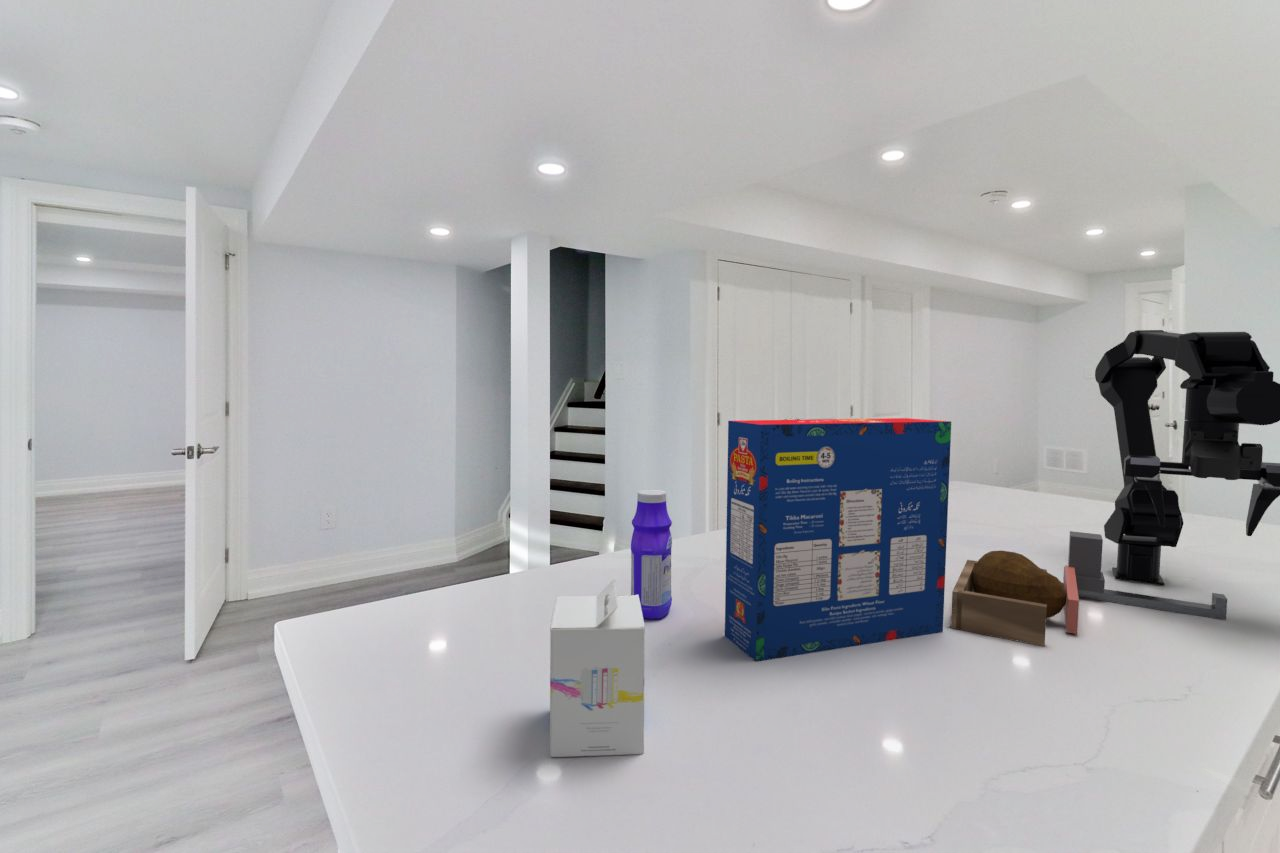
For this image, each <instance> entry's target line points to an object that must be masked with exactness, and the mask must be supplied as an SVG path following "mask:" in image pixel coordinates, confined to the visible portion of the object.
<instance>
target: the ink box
mask: <svg viewBox="0 0 1280 853" xmlns="http://www.w3.org/2000/svg"><path fill="white" fill-rule="evenodd" d="M616 581H617V580H616V579H613V580H612V581H610V582H609V583H608V584H607V585H606V586H605V587H604V588H603V589H602V590H601V591H600V592H599V593H598V594H597V595H581V596H580V595H579V596H578V595H577V596H576V595H574V596H573V595H571V596H568V595H567V596H562V595H561V596H560V595H558V596H556V597H555V600H554V607H553V612H552V616H551V621H550V627H549V631H550V637H549V639H550V641H549V642H550V651H549V653H550V654H549V655H550V656H549V657H550V658H549V659H550V662H549V663H550V664H549V668H550V669H549V670H550V671H549V684H550V685H549V687H550V689H549V690H550V691H549V756H550V758H565V757H567V758H568V757H598V756H599V757H600V756H625V755H642V754H644V752H645V736H644V735H645V650H646V648H645V642H646V640H645V637H646V636H645V634H646V633H645V632H646V626H645V620H644V619H645V618H643V614H642V609H641V604H640V599H639V595H631V594H630V595H617V588H616V586H617V585H616V584H617V582H616Z"/></svg>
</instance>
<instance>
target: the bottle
mask: <svg viewBox="0 0 1280 853" xmlns="http://www.w3.org/2000/svg"><path fill="white" fill-rule="evenodd" d="M636 497H637V499H636V501H637V504H636V509H635V510H636V511H635V514H634V516H633V518H632V520H631V525H632V527H633V532H632V536H631V540H630V550H631V555H630V558H631V559H630V560H631V561H630V562H631V563H630V564H631V565H630V566H631V567H630V568H631V569H630V572H631V574H630V595H639V599H640V604H641V609H642V614H643V619H648V620H649V619H650V620H657V619H662V618H664V617H665V616H666V615H668V613H669V612H670V610H671V606H672V601H673V597H672V547H673V546H672V545H673V539H672V534H671V533H672V532H671V530H670V528H671V527H672V524H673V521H672V519H671V518H670V516H669V513H668V507H667V491H665V490H661V489H651V488H650V489H642V490H638V491H637V496H636Z"/></svg>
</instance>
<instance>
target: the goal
mask: <svg viewBox="0 0 1280 853" xmlns="http://www.w3.org/2000/svg"><path fill="white" fill-rule="evenodd" d="M977 562H978V560H973V559H972V560H971V559H967V560H966V562H965V564H964V565H963V566H964V567H963V568H962V570H961V573H960V574H959V576H958V578H957V581H956V583H955V585H954V587H953V589H952V592H951V593H952V594H951V598H952V599H951V612H950V613H951V614H950V616H951V617H950V629H955V630H960V631H966V632H970V633H975V634H980V635H985V636H990V635H991V637H995V636H996V637H995V638H1000V637H1001V639H1005V638H1006V640H1010V639H1012V640H1011V641H1015V640H1018V641H1017V642H1020V641H1022V642H1021V643H1025V642H1027V643H1026V644H1030V643H1032V645H1035V644H1037V645H1036V646H1040V645H1042V646H1041V647H1045V646H1046V644H1045V643H1046V630H1047V618H1046V611H1047V604H1041V603H1035V602H1029V601H1023V600H1017V599H1011V598H1005V597H999V596H993V595H987V594H981V593H975V591H974V588H973V583H972V574H973V569H974V567H975V565H976V564H977ZM1045 572H1047V573H1048V570H1047V571H1045Z"/></svg>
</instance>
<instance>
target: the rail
mask: <svg viewBox="0 0 1280 853" xmlns="http://www.w3.org/2000/svg"><path fill="white" fill-rule="evenodd" d="M1041 569H1042V570H1044V571H1047V572H1048V570H1047V569H1044V568H1041ZM1061 583H1062V584H1063V587H1064V582H1061ZM1077 590H1078V589H1077ZM1078 597H1079V598H1082V599H1083V598H1085V599H1090V600H1095V599H1096V600H1095V601H1102V600H1103V602H1108V601H1109V602H1108V603H1114V602H1117V603H1116V604H1121V603H1123V605H1127V604H1129V606H1133V605H1136V607H1140V606H1142V607H1141V608H1146V609H1154V610H1158V611H1159V610H1160V611H1167V612H1171V613H1172V612H1173V613H1179V614H1185V615H1190V616H1191V615H1193V616H1198V617H1203V618H1211V619H1218V620H1224V621H1226V620H1227V611H1228V610H1227V609H1228V598H1227V597H1226V595H1225V594H1223V593H1216V592H1212V593H1211V603H1210V604H1207V603H1200V602H1193V601H1187V600H1180V599H1173V598H1167V597H1160V596H1153V595H1146V594H1141V593H1133V592H1127V591H1119V590H1113V589H1106V588H1104V593H1098V592H1091V591H1085V590H1078Z"/></svg>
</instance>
